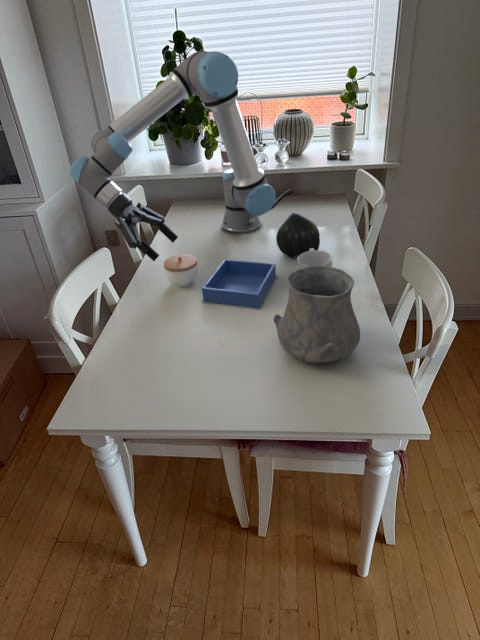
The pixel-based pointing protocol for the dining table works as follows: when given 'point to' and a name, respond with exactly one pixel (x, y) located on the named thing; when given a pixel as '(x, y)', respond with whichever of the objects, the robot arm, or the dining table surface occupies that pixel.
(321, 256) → the teacup
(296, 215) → the squash
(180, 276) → the trinket box
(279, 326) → the vessel
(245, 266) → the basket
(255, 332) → the dining table surface
